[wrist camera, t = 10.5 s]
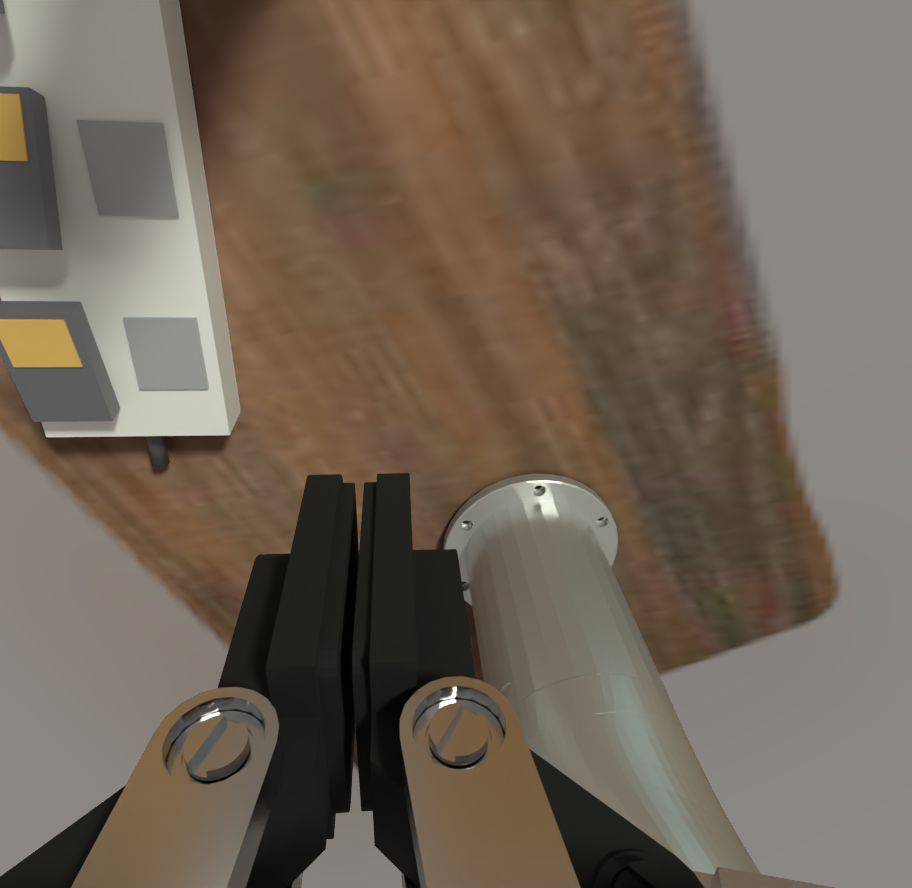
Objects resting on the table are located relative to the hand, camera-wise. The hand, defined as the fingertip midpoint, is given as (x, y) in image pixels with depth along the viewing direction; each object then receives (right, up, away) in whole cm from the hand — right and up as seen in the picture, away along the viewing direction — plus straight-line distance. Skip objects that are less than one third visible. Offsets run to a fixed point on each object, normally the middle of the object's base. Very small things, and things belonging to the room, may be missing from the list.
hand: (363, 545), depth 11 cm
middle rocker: (-18, +14, +17) cm, 28 cm away
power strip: (-16, +15, +21) cm, 31 cm away
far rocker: (-19, +6, +21) cm, 29 cm away
